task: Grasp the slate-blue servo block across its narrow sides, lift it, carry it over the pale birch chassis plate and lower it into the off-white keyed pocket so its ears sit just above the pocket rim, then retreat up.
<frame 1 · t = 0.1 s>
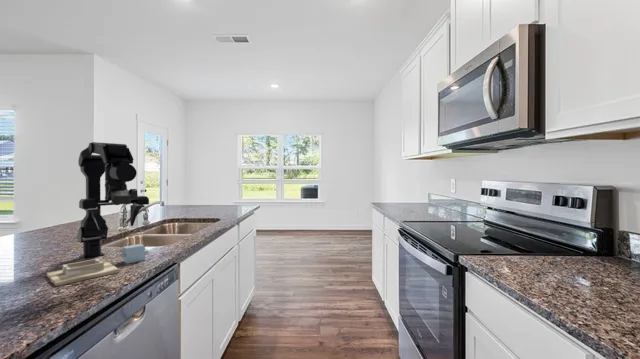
hand: (116, 227, 101), 14 cm above the worktop, fingers open, 9 cm apart
chassis pocket: (83, 273, 98), on the worktop
servo: (133, 260, 113), on the worktop
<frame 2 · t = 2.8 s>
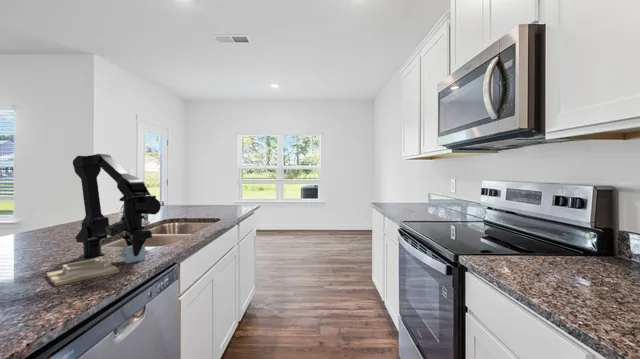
hand: (133, 255, 113), 2 cm above the worktop, fingers closed on servo, 4 cm apart
servo: (133, 260, 113), on the worktop, touching gripper
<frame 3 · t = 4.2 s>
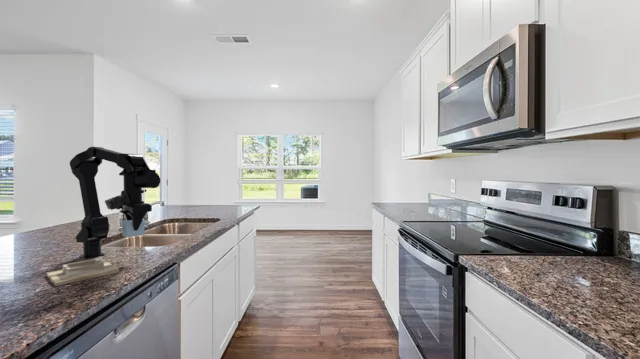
hand: (133, 229, 113), 12 cm above the worktop, fingers closed on servo, 4 cm apart
servo: (133, 235, 113), point 9 cm above the worktop, touching gripper
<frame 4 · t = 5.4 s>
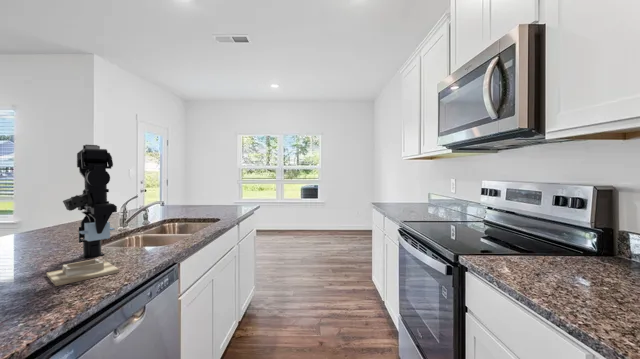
hand: (97, 232, 101), 13 cm above the worktop, fingers closed on servo, 4 cm apart
servo: (97, 238, 102), point 11 cm above the worktop, touching gripper
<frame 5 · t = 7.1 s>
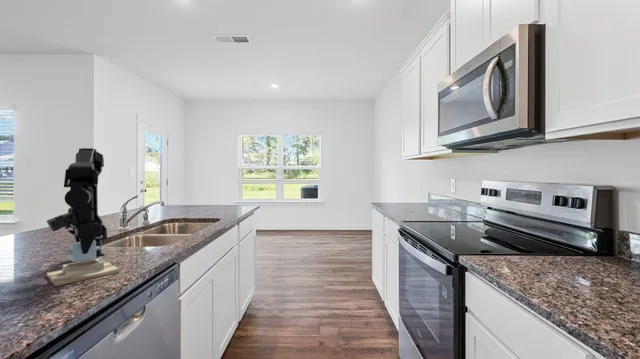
hand: (83, 252, 98), 7 cm above the worktop, fingers closed on servo, 4 cm apart
servo: (83, 258, 98), point 5 cm above the worktop, touching gripper
when the fingers open (4 cm above the worktop, at t = 8.5 s): servo drops 1 cm, resting on chassis pocket.
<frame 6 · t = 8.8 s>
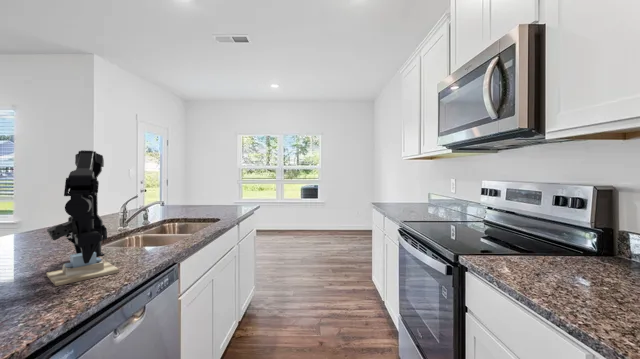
hand: (83, 261, 98), 4 cm above the worktop, fingers open, 7 cm apart
servo: (83, 270, 98), point 1 cm above the worktop, touching chassis pocket
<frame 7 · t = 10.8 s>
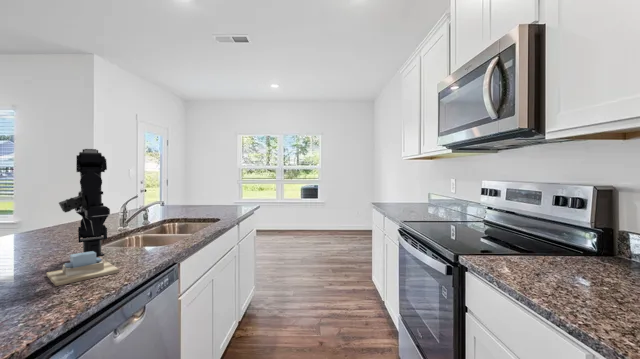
hand: (92, 233, 106), 12 cm above the worktop, fingers open, 9 cm apart
nothing on the worktop moved.
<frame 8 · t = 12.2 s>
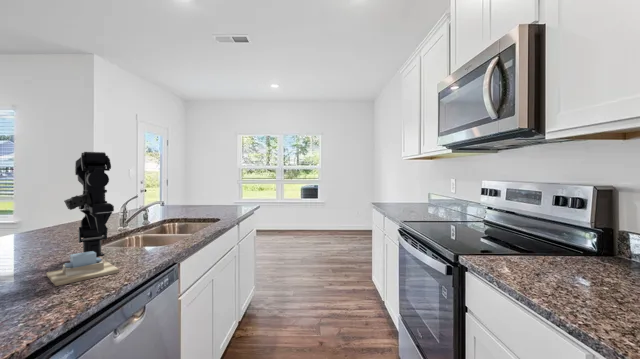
hand: (96, 230, 109), 12 cm above the worktop, fingers open, 9 cm apart
nothing on the worktop moved.
at the end: servo 0.1 cm off-centre on the chassis pocket, point 1.0 cm above the chassis pocket's base; servo tilted 0°; the gripper is holding nothing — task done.
